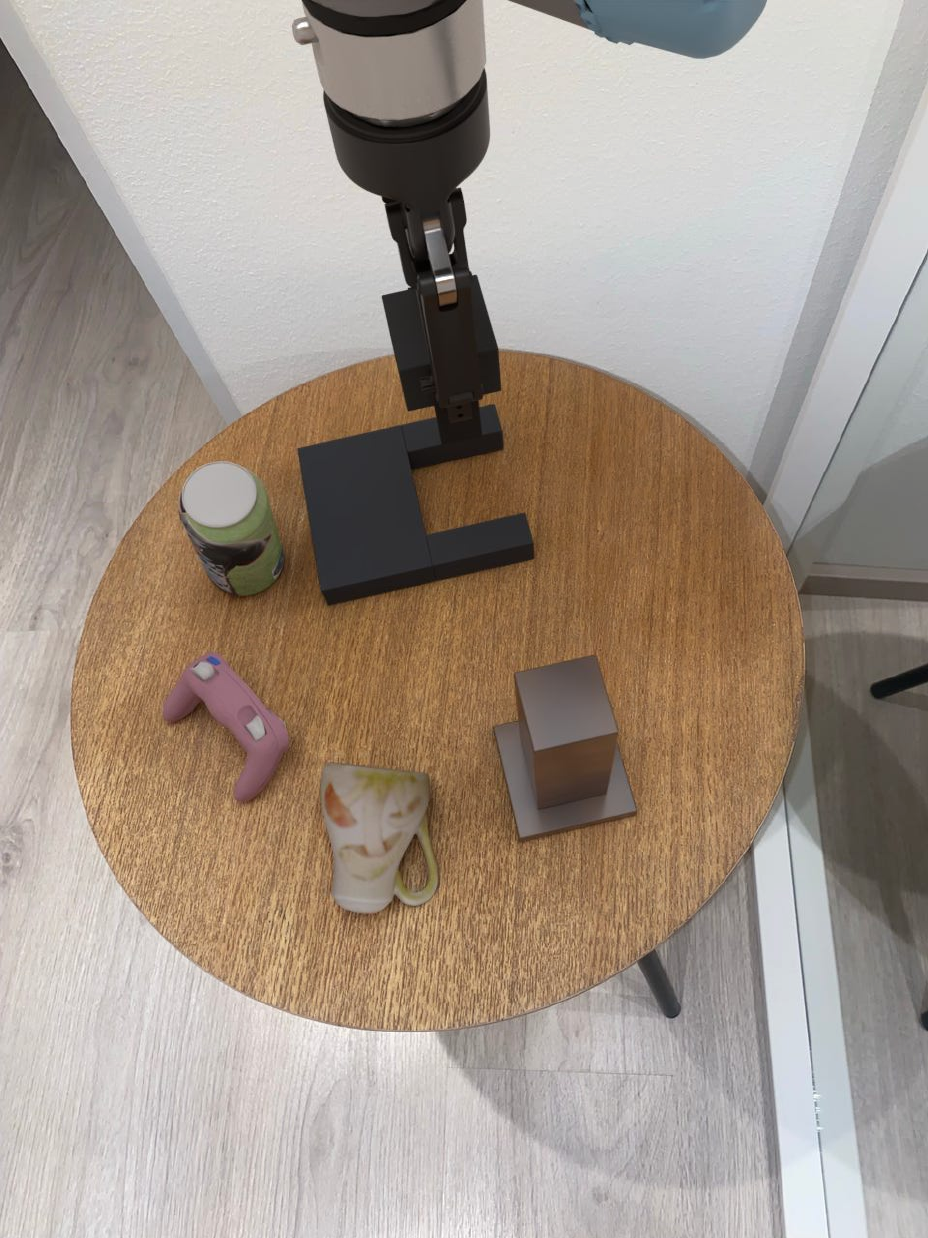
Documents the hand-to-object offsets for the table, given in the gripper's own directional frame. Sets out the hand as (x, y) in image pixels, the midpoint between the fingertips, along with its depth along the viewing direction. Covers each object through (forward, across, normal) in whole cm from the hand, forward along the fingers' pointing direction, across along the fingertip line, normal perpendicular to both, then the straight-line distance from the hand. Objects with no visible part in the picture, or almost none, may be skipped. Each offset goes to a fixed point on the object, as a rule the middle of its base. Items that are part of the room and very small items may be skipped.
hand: (450, 395), depth 65 cm
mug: (+13, +25, -11) cm, 30 cm away
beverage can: (+13, +2, -17) cm, 22 cm away
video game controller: (+13, +15, -20) cm, 28 cm away
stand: (+13, +23, +2) cm, 26 cm away
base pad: (+13, 0, -4) cm, 14 cm away
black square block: (-3, 0, 0) cm, 3 cm away
